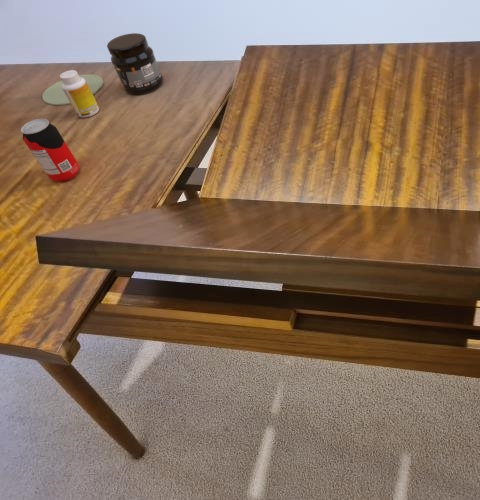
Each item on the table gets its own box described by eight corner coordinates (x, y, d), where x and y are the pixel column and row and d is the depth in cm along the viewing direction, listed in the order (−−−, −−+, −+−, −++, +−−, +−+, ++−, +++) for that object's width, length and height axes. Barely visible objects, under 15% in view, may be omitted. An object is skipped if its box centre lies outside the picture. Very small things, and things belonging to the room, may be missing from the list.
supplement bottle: (104, 108, 116) (85, 69, 108) (89, 120, 112) (67, 80, 105) (88, 105, 118) (68, 67, 110) (72, 116, 114) (50, 78, 107)
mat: (30, 101, 122) (29, 99, 122) (72, 73, 132) (72, 71, 132) (74, 108, 117) (73, 107, 117) (115, 78, 127) (115, 77, 126)
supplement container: (132, 77, 126) (113, 33, 117) (169, 75, 125) (152, 30, 116) (119, 97, 119) (97, 51, 110) (157, 95, 118) (139, 48, 109)
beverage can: (87, 172, 97) (57, 122, 89) (60, 188, 94) (26, 138, 86) (72, 162, 100) (42, 113, 92) (45, 177, 97) (11, 128, 89)
